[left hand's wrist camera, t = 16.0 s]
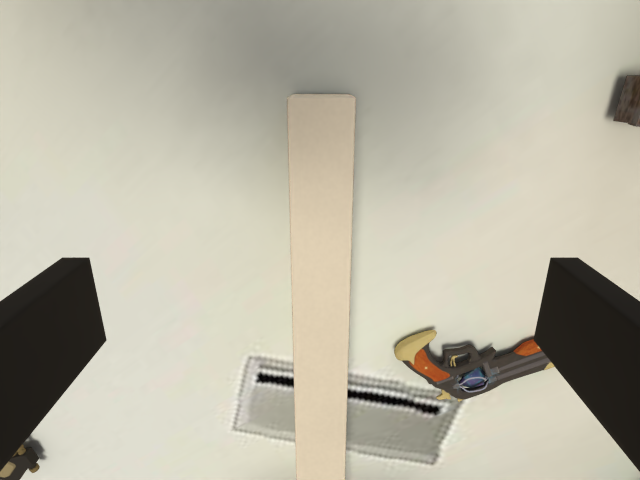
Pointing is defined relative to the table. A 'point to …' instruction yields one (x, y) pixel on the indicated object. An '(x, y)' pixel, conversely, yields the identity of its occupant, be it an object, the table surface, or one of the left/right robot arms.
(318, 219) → the beam
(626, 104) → the toy
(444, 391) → the toy gun
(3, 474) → the spray gun
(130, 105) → the table surface
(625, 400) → the left robot arm
